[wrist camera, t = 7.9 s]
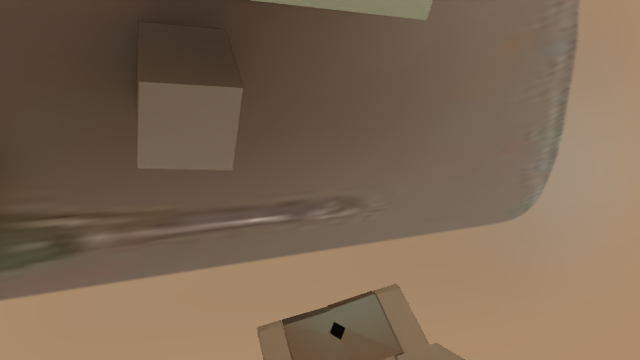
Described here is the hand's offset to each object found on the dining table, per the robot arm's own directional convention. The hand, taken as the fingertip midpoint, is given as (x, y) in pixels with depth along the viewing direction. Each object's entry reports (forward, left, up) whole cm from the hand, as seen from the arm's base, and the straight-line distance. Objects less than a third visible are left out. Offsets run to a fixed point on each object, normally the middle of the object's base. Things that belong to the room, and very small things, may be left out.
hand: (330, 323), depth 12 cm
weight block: (-1, -5, -23) cm, 24 cm away
